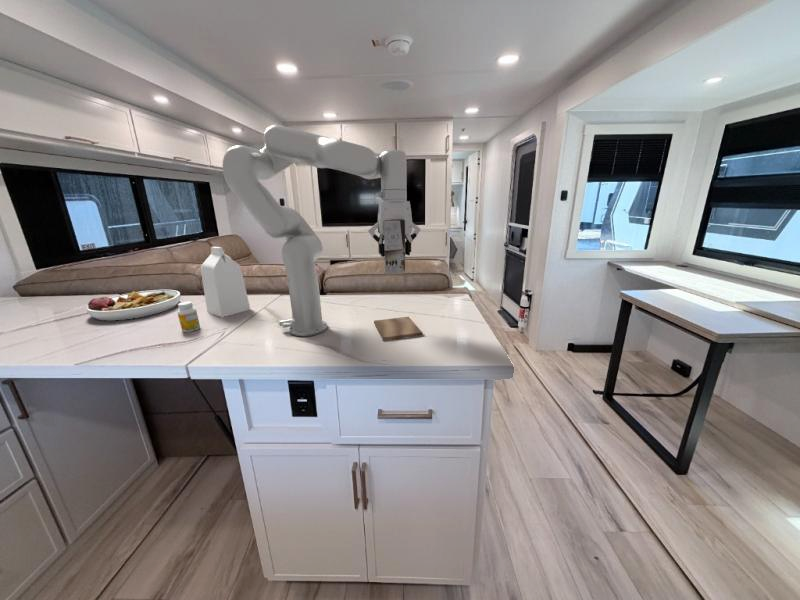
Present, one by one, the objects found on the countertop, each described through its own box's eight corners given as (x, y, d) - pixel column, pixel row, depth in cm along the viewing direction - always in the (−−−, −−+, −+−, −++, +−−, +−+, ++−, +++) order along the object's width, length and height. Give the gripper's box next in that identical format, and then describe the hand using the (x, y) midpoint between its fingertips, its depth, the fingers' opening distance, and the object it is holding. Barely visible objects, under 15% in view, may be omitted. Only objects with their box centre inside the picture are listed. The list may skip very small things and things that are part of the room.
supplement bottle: (180, 329, 107) (173, 303, 104) (197, 325, 111) (191, 299, 108) (184, 333, 103) (177, 306, 100) (202, 328, 107) (196, 302, 104)
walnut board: (383, 341, 95) (382, 337, 95) (374, 323, 109) (373, 320, 109) (422, 335, 98) (422, 332, 98) (408, 319, 112) (408, 316, 112)
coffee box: (405, 274, 93) (405, 219, 88) (384, 274, 93) (382, 219, 88) (405, 267, 102) (405, 218, 97) (386, 268, 102) (384, 218, 97)
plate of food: (177, 295, 149) (173, 280, 146) (187, 310, 127) (183, 292, 125) (92, 310, 130) (86, 292, 127) (87, 330, 108) (80, 309, 106)
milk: (207, 311, 124) (193, 248, 116) (235, 304, 133) (223, 244, 125) (222, 317, 118) (207, 250, 110) (250, 309, 127) (239, 246, 119)
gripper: (367, 196, 85) (370, 259, 90) (426, 196, 89) (425, 255, 95) (363, 196, 92) (365, 255, 97) (417, 196, 96) (417, 252, 102)
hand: (395, 255), depth 96 cm, fingers closed on coffee box, 7 cm apart
